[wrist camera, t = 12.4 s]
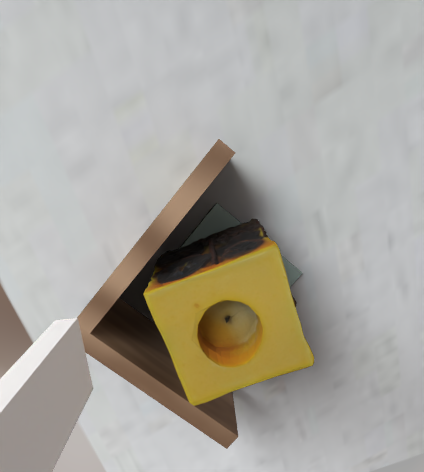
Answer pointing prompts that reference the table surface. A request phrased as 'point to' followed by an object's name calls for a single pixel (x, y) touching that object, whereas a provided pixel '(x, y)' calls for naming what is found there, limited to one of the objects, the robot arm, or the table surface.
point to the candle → (227, 312)
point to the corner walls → (145, 331)
